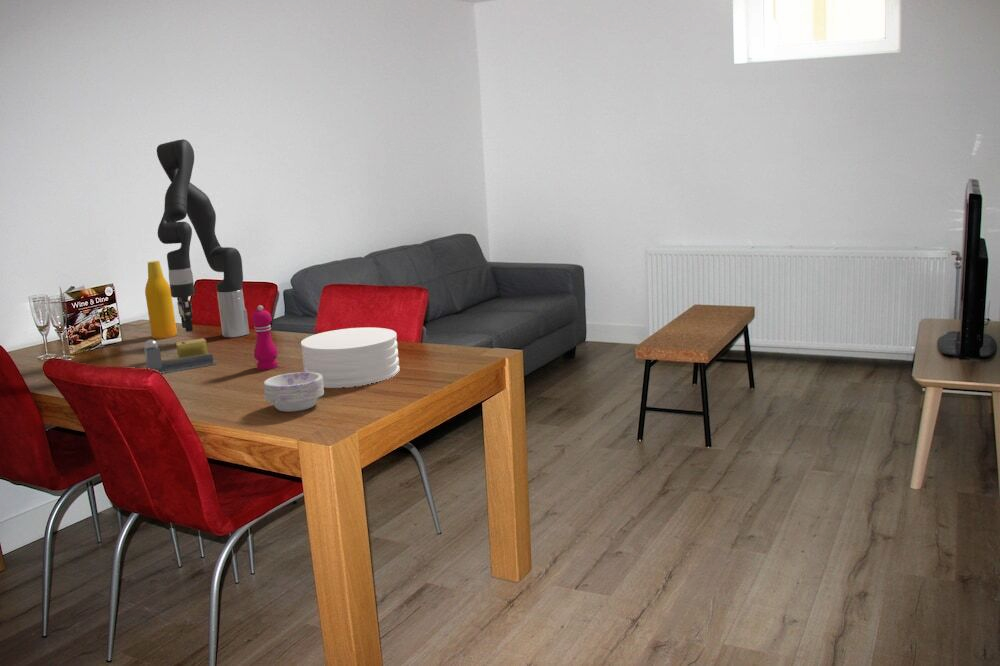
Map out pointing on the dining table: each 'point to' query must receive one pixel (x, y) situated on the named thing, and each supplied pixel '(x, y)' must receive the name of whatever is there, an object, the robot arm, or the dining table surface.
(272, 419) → the dining table surface
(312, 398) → the paper bowls
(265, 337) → the pepper mill
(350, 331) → the plate stack
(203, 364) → the grey fixture stand
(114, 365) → the dining table surface
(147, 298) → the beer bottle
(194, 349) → the yellow block
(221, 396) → the dining table surface
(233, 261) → the robot arm
